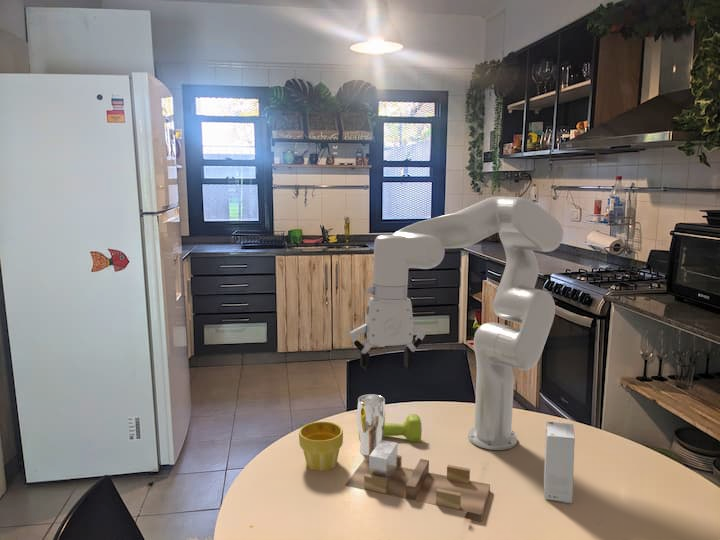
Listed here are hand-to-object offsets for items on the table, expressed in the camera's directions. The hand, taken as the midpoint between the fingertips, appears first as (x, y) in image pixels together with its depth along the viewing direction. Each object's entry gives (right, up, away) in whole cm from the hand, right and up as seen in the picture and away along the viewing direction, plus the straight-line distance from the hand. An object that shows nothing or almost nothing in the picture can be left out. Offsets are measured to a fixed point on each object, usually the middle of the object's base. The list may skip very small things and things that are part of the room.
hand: (386, 368), depth 124 cm
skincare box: (+38, -28, +1) cm, 47 cm away
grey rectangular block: (-1, -26, +4) cm, 26 cm away
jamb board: (+7, -27, +1) cm, 28 cm away
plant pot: (-15, -26, +10) cm, 32 cm away
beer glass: (-3, -25, +16) cm, 30 cm away
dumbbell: (+2, -24, +24) cm, 34 cm away
